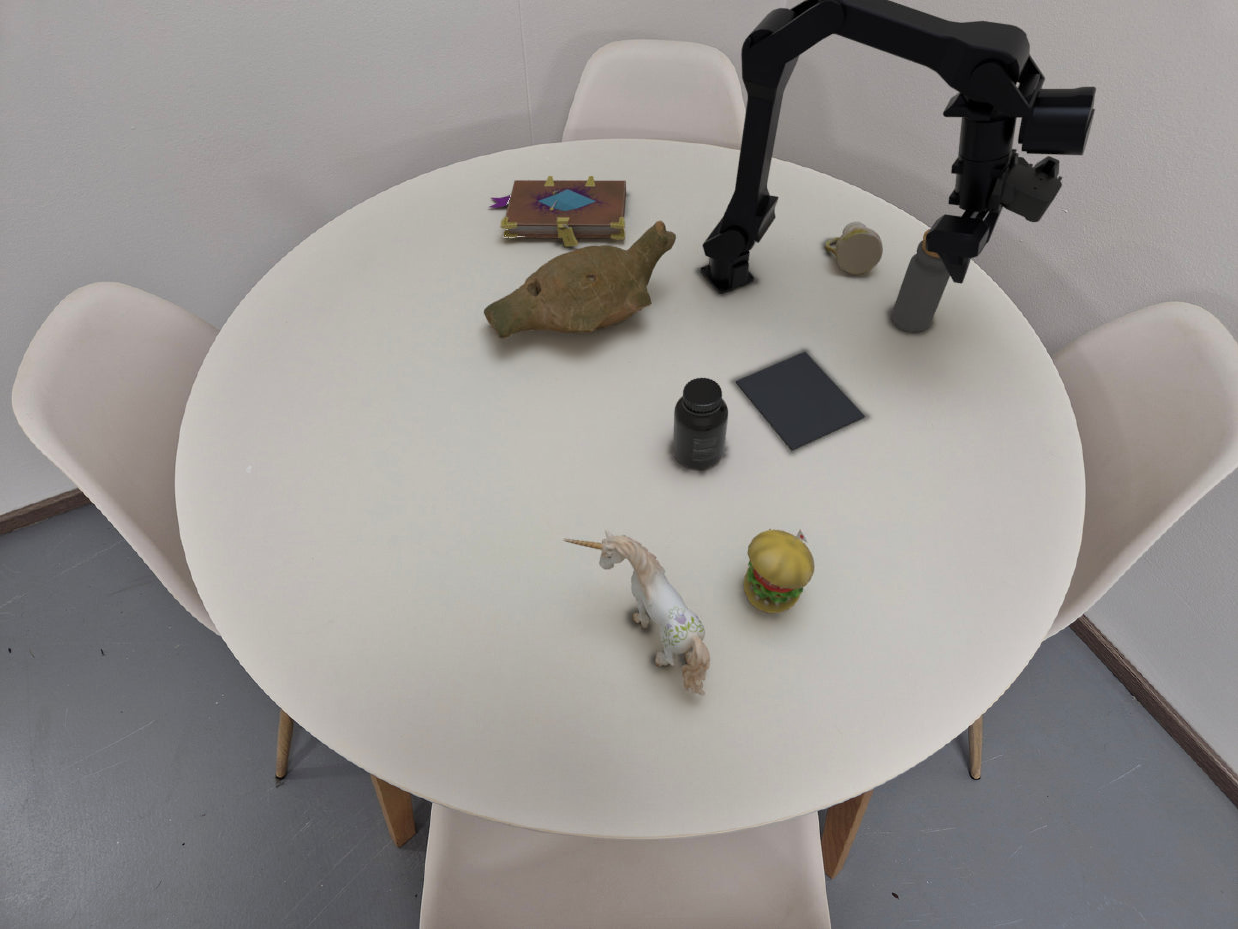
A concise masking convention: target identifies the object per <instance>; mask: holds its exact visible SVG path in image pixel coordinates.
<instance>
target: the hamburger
mask: <svg viewBox="0 0 1238 929" xmlns="http://www.w3.org/2000/svg"><path fill="white" fill-rule="evenodd" d="M798 530H799V531H798V533H797V534H796V535H794V534H792V533H790V532H787V531H785V530H780V529H771V528H768V529H767V530H765V531H761V532H760V533H758V534H756V535H755V536H754V537H753V538H752V539H751V542H750V543H749V544H748V546H747V557H748V560H749V561H748V563H747V566H749V567H748V568H747V570H746V572H745V575H744V579H743V582H742V583H743V591H744V593H745V595H746V598H747V599H748V601H749V603H750V605H752V607H755V608H756V609H757V610H759V611H762V612H764V613H769V614H776V613H778V614H779V613H783V612H785V611H787V610H789V609H791V608H792V607H795V605H796V603H797V602H798V601H799V600H800V597H801V594H803V592H804V587H806V586H807V585H808V583H809V582H811V580H812V578H813V576H814V574H815V573H814V572H815V559H814V556H813V554H812V551H811V550H810V549H809V547H808V545H807V544H808V543H809V542H808V540H807V538H806V537H805V535H804V532H803V531H802V529H801V528H800V529H798Z"/></svg>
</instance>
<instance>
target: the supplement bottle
mask: <svg viewBox="0 0 1238 929" xmlns="http://www.w3.org/2000/svg"><path fill="white" fill-rule="evenodd" d="M728 419H729V408H728V405H727V403H726V401H725V400H724V398H723V390H722V388H721V385H720V384H719V383H718V382H717V381H716V380H713V379H711V378H708V377H707V378H706V377H696V378H693V379H691V380H690V381H688V382H687V383H686V384H685V385H684V387H683V390H682V396H680V398H679V399H678V400H677V401H676V402H675V406H674V411H673V454H674V456H675V458H676V459H677V461H678V462H679V463H680V464H681V465H683V466H685V467H686V468H689V469H691V470H706V469H710V468H712V467H714V466H716V465H717V464H718V463H719V462H720V461H721V460H722V458H723V456H724V453H725V448H726V439H727V438H726V437H727V429H728V421H729V420H728Z"/></svg>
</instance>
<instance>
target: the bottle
mask: <svg viewBox="0 0 1238 929" xmlns="http://www.w3.org/2000/svg"><path fill="white" fill-rule="evenodd" d="M930 229H931V228H929V229H927V230H926V231H924V233H923V234H922V235H923V236H922V240H921V241H920V242H919V243H918V244H917V248H916V253H915V254H913V256H911V258H910V261H909V263H908V266H907V268H906V271H905V274H904V276H903V280H902V282H901V284H900V289H899V291H898V294H897V297H896V300H895V303H894V306H893V309H892V312H891V320H892V321H891V322H892V323H893V324H894V325H895V327H897V328H898V329H900V330H901V331H904V332H907V333H920V332H924V331H926V330H927V329H928V328H930V326H931V323H932V321H933V319H934V316H935V314H936V312H937V309H938V307H939V304H940V302H941V299H942V297H943V294H944V293H945V289H946V287H947V286H948V285H947V284H948V282H949V281H950V280H949V279H950V278H951V276H950V274H949V273H948V271H947V269H946V267H945V265H944V264H943V262H942V260H941V259H940V257H939V256H938V254H937V253H935V252H928V251H927V250H926V249H925V242H926V234H927V233H928V232H929V230H930Z"/></svg>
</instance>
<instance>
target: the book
mask: <svg viewBox="0 0 1238 929" xmlns="http://www.w3.org/2000/svg"><path fill="white" fill-rule="evenodd" d="M510 195H511V197H510ZM509 198H510V200H509ZM491 200H493V201H494V202H496V203H493V204H492V205H489V206H488V208H493V209H494V208H495V209H496V208H502V207H506V206H507V208H506V212H505V216H504V217H503V218H502V220H501V221H500V226H499V228H500V229H504V231H503V234H502V235H503V236H504V237H508V238H509V237H517V236H525V237H524V238H534V237H536V238H538V239H539V238H543V239H545V238H546V239H547V238H549V239H550V238H551V239H552V238H553V239H554V238H555V239H556V238H558V239H562V241H563V245H564V247H577V246H578V245H579V241H578V240H577V239H612V240H616V241H623V240H626V230H625V228H626V221H625V211H626V210H625V209H626V200H627V180H595V177H594V176H593V175H589V176H588V178H587V180H581V179H580V180H572V179H571V180H565V179H563V180H561V179H559V180H557V179H554V176H553V175H548V177H547V178H546V180H545V179H544V180H539V179H537V180H533V179H532V180H527V179H524V180H523V179H521V180H520V179H519V180H517V179H516V180H514V181H513V185H512V189H511V193H510V194H508V195H505V196H502V197H491ZM508 200H509V204H508V205H506V204H507V202H508ZM506 229H508V230H506ZM505 235H506V236H505ZM503 236H502V237H503ZM517 238H518V237H517Z"/></svg>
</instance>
